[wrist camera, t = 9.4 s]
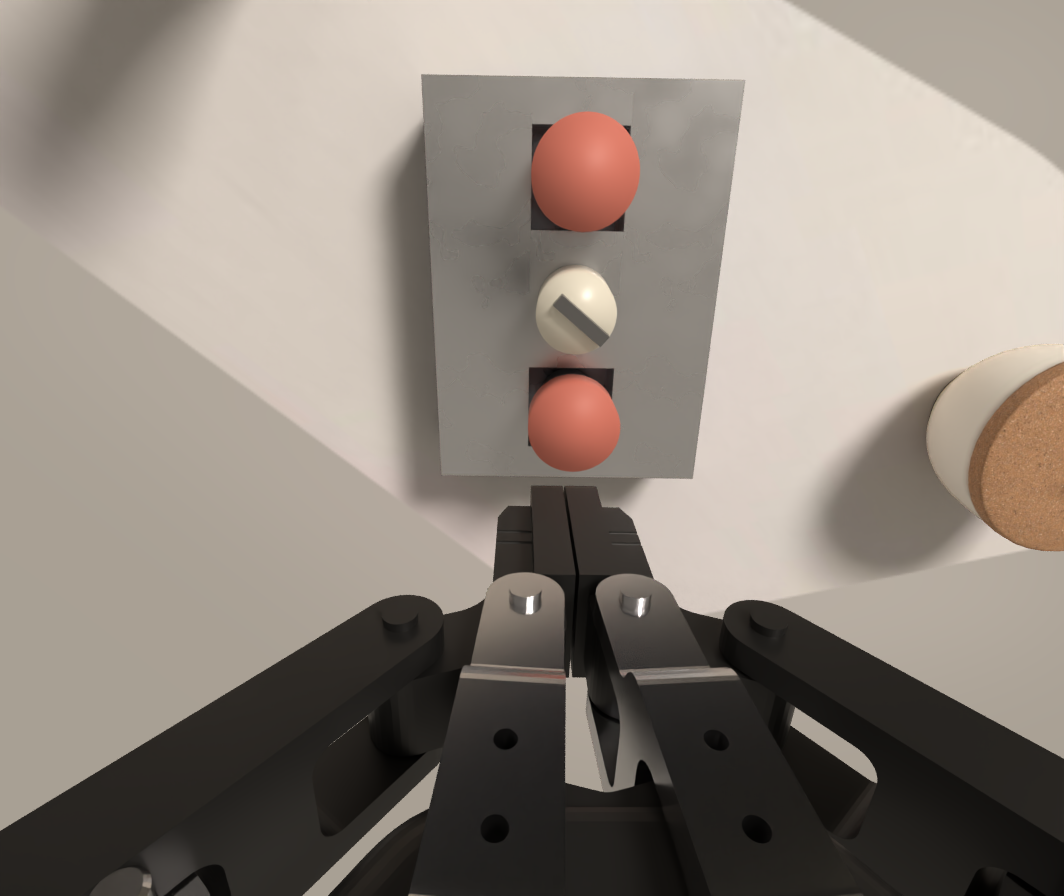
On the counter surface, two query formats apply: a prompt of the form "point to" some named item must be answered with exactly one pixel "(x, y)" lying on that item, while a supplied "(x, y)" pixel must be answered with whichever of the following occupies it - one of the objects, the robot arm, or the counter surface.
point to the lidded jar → (1006, 443)
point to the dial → (575, 310)
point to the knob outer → (572, 422)
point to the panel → (542, 247)
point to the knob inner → (585, 172)
